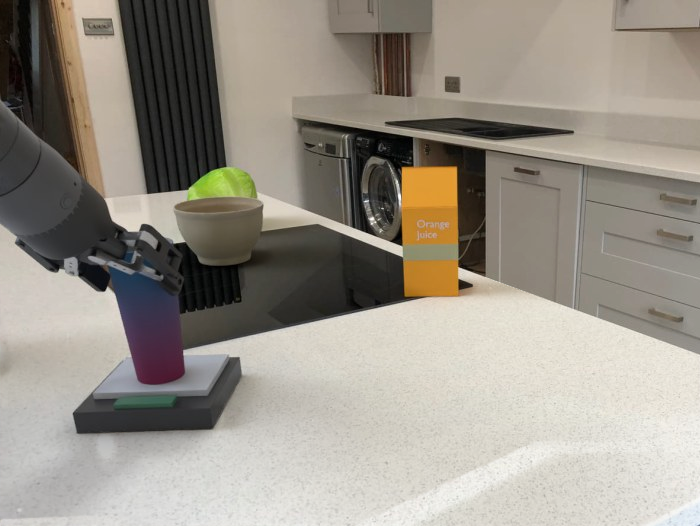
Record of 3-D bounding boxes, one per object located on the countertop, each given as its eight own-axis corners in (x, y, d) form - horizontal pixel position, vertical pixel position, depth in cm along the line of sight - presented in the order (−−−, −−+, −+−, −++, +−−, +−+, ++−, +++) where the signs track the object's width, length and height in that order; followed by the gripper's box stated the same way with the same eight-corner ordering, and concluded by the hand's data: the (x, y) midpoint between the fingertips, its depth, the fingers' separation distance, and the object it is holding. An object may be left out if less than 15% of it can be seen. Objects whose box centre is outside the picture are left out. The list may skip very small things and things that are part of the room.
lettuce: (208, 242, 154) (200, 177, 149) (181, 225, 170) (172, 166, 165) (278, 232, 162) (271, 170, 157) (246, 217, 178) (239, 160, 173)
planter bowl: (197, 277, 130) (188, 216, 126) (170, 258, 142) (161, 202, 138) (282, 262, 139) (276, 204, 135) (250, 246, 151) (244, 192, 147)
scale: (76, 433, 76) (70, 405, 75) (125, 378, 89) (121, 353, 88) (212, 428, 77) (208, 401, 76) (242, 374, 90) (239, 350, 89)
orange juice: (458, 296, 118) (457, 170, 111) (404, 297, 118) (399, 170, 111) (458, 282, 125) (457, 162, 118) (406, 282, 125) (402, 163, 118)
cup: (120, 374, 82) (94, 243, 77) (180, 358, 86) (159, 233, 81) (140, 393, 77) (114, 255, 72) (203, 376, 82) (183, 244, 76)
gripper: (126, 161, 62) (212, 257, 77) (-17, 159, 65) (93, 252, 80) (97, 236, 60) (192, 322, 74) (-50, 230, 62) (69, 314, 77)
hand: (141, 286), depth 77 cm, fingers open, 8 cm apart
